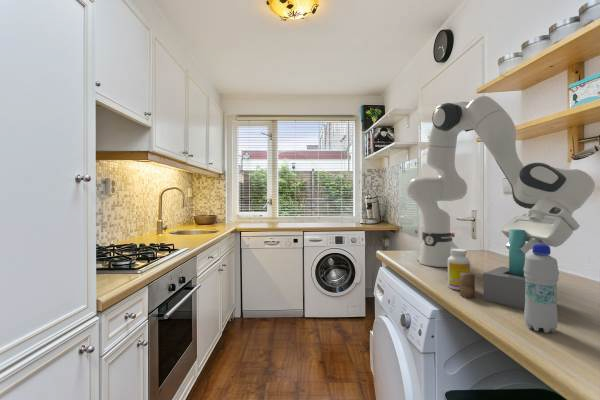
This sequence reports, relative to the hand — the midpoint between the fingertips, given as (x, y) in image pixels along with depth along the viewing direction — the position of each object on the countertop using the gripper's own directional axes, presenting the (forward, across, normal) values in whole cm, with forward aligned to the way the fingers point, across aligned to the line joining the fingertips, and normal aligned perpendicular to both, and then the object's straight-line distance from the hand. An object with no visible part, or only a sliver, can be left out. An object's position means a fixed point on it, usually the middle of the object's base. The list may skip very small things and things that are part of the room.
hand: (514, 249), depth 96 cm
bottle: (+16, +19, +5) cm, 26 cm away
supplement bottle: (+18, -14, +4) cm, 23 cm away
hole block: (+10, 0, +11) cm, 15 cm away
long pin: (+5, 0, +6) cm, 7 cm away
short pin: (+19, -5, +3) cm, 20 cm away
